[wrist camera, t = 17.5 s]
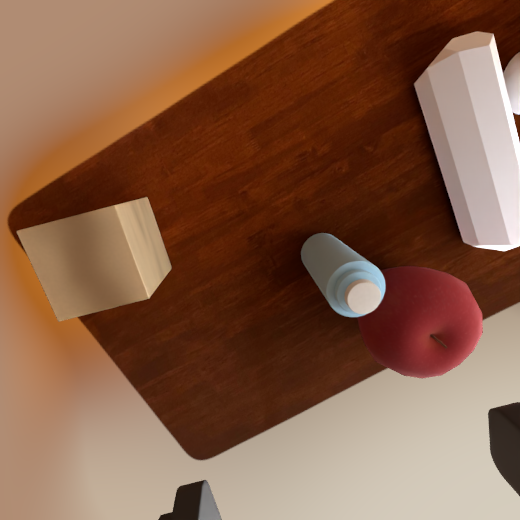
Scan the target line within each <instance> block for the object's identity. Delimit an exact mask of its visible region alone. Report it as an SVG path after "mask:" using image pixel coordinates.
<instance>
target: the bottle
mask: <svg viewBox="0 0 520 520" xmlns="http://www.w3.org/2000/svg"><path fill="white" fill-rule="evenodd" d="M301 259H302V262H303V264H304V265H305V267H306V269H307V270H308V272H309V273H310V275H311V276H312V278H313V279H314V281H315V283H316V284H317V286H318V287H319V289H320V290H321V292H322V293H323V295H324V296H325V298H326V300H327V301H328V303H329V304H330V306H331V307H332V308H333V309H334V310H335V311H336V312H337V313H339V314H341V315H343V316H347V317H359V316H363V315H366V314H368V313H370V312H372V311H374V310H375V309H376V308H377V307H378V305H379V304H380V302H381V301H382V299H383V297H384V294H385V279H384V276H383V274H382V273H381V271H380V270H379V269H378V268H377V267H376V266H375V265H373V264H372V263H370V262H369V261H368V260H366V259H365V258H363V257H362V256H361V255H359V254H358V253H356V252H355V251H354V250H352V249H351V248H350V247H348V246H347V245H345V244H344V243H343V242H341V241H340V240H338V239H337V238H336V237H334V236H333V235H330V234H327V233H318V234H315V235H313V236H311V237H310V238H308V239H307V240H306V242H305V243H304V245H303V247H302V250H301Z"/></svg>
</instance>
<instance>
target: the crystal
mask: <svg viewBox="0 0 520 520" xmlns="http://www.w3.org/2000/svg"><path fill="white" fill-rule="evenodd" d="M414 86H415V89H416V92H417V95H418V99H419V102H420V105H421V108H422V111H423V115H424V118H425V121H426V124H427V127H428V131H429V134H430V137H431V140H432V143H433V147H434V150H435V153H436V156H437V160H438V163H439V166H440V169H441V172H442V176H443V179H444V182H445V185H446V188H447V192H448V195H449V198H450V201H451V204H452V208H453V211H454V214H455V217H456V220H457V224H458V227H459V230H460V233H461V236H462V240H463V242H465V243H467V244H469V245H471V246H474V247H479V248H486V249H493V250H500V251H506V250H509V249H512V248H515V247H518V246H520V143H519V138H518V134H517V130H516V126H515V122H514V118H513V113H512V109H511V105H510V101H509V97H508V93H507V88H506V84H505V80H504V76H503V72H502V68H501V63H500V59H499V55H498V51H497V47H496V43H495V38H494V34H491V33H484V32H473V33H470V34H466V35H463V36H459V37H456V38H453V39H452V40H451V41H450V42H449V43H448V44H447V45H446V46H445V48H444V49H443V50H442V51H441V52H440V53H439V55H438V56H437V57H436V58H435V59H434V61H433V62H432V63H431V64H430V65H429V66H428V68H427V69H426V70H425V71H424V72H423V74H422V75H421V76H420V77H419V78H418V80H417V81H416V82H415V83H414Z"/></svg>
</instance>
